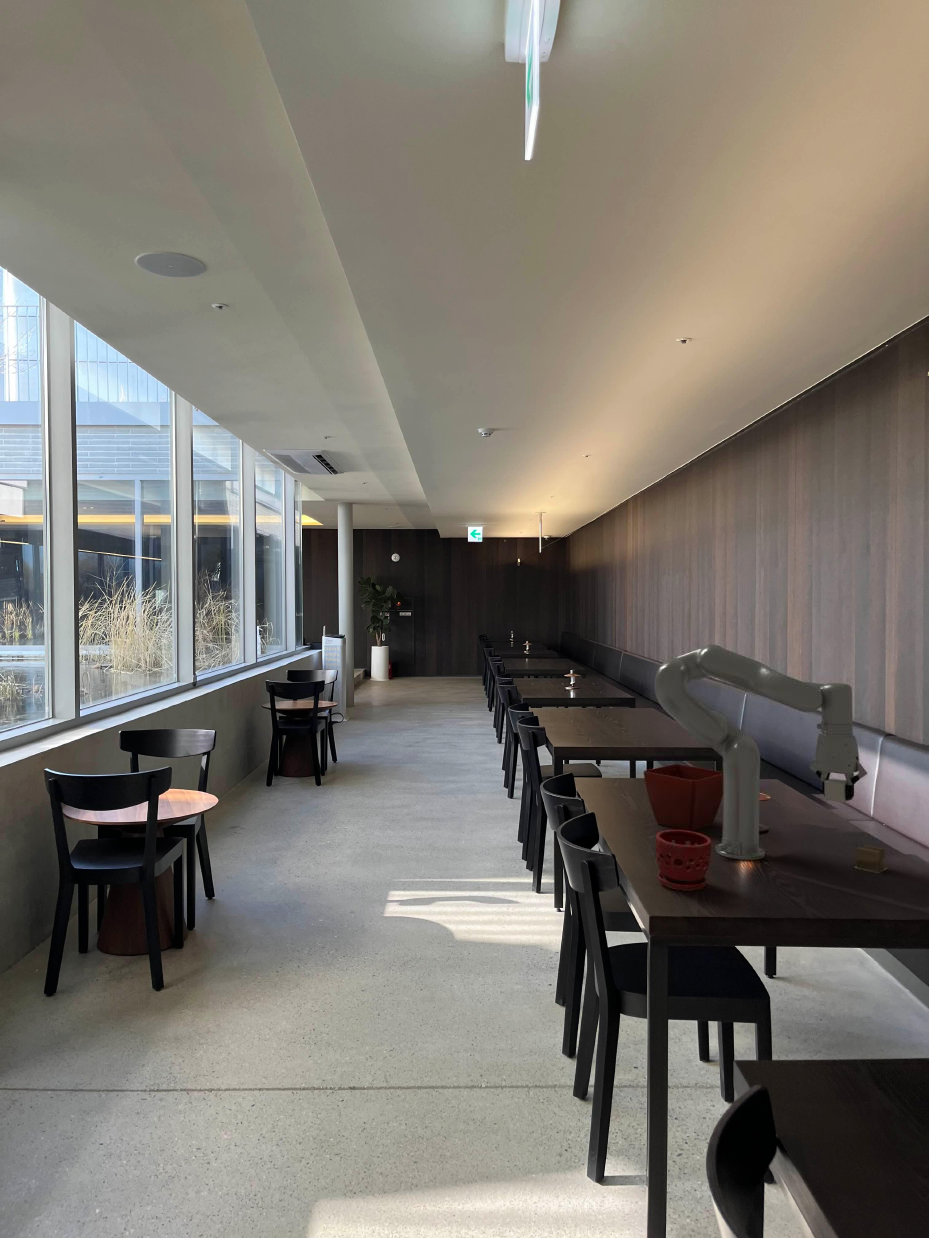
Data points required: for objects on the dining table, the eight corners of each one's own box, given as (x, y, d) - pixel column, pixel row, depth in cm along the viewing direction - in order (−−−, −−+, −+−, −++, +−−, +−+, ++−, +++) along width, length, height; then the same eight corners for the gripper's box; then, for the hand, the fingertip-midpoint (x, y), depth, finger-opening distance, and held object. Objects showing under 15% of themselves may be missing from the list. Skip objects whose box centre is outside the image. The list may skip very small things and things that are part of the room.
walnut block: (877, 872, 204) (877, 852, 204) (856, 867, 208) (857, 848, 208) (885, 868, 207) (885, 848, 207) (865, 863, 211) (865, 844, 211)
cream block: (843, 802, 211) (843, 783, 211) (824, 799, 215) (824, 780, 215) (851, 799, 214) (851, 780, 214) (832, 796, 218) (832, 778, 218)
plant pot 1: (694, 836, 240) (694, 780, 240) (641, 823, 254) (641, 770, 254) (728, 825, 253) (728, 772, 252) (675, 814, 267) (676, 763, 267)
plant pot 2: (644, 885, 196) (645, 835, 196) (673, 873, 205) (673, 826, 205) (693, 898, 186) (693, 847, 186) (720, 885, 196) (721, 836, 196)
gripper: (799, 728, 218) (800, 795, 218) (864, 734, 206) (865, 805, 205) (811, 725, 223) (813, 791, 223) (876, 731, 211) (877, 800, 210)
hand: (838, 797), depth 214 cm, fingers closed on cream block, 5 cm apart
